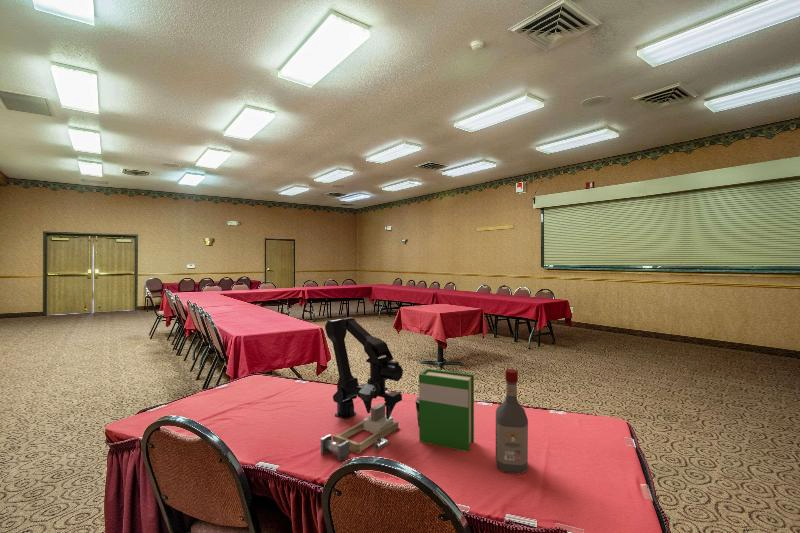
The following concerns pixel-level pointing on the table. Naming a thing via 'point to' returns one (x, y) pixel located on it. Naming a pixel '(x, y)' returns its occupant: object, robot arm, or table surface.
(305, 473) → the table surface
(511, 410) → the liquor
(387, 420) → the two-tone stepped block
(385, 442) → the crank handle
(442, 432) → the hardback book
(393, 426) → the bay
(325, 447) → the winch
